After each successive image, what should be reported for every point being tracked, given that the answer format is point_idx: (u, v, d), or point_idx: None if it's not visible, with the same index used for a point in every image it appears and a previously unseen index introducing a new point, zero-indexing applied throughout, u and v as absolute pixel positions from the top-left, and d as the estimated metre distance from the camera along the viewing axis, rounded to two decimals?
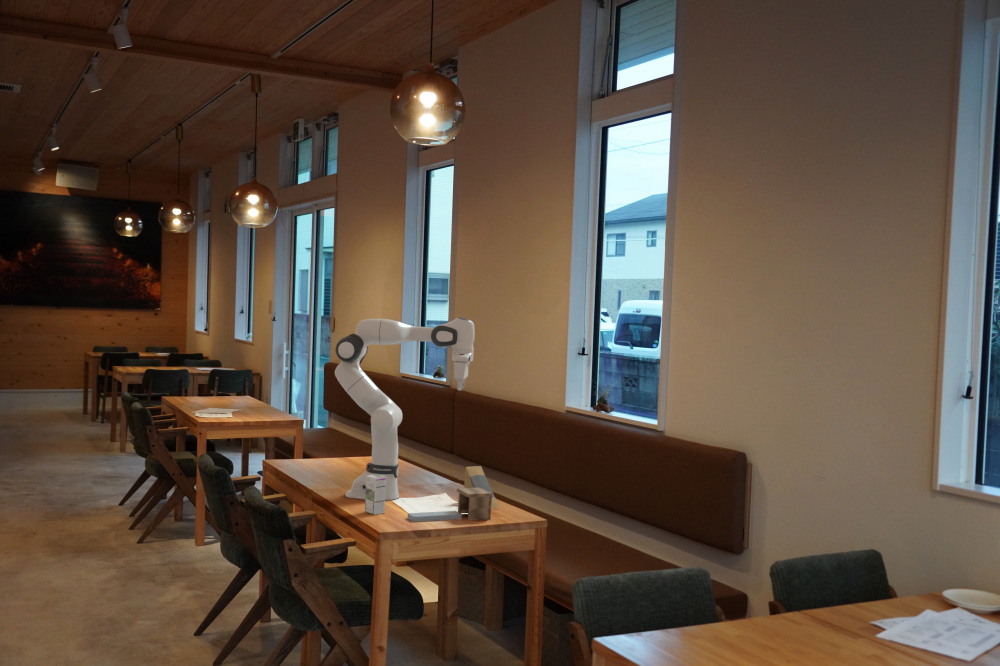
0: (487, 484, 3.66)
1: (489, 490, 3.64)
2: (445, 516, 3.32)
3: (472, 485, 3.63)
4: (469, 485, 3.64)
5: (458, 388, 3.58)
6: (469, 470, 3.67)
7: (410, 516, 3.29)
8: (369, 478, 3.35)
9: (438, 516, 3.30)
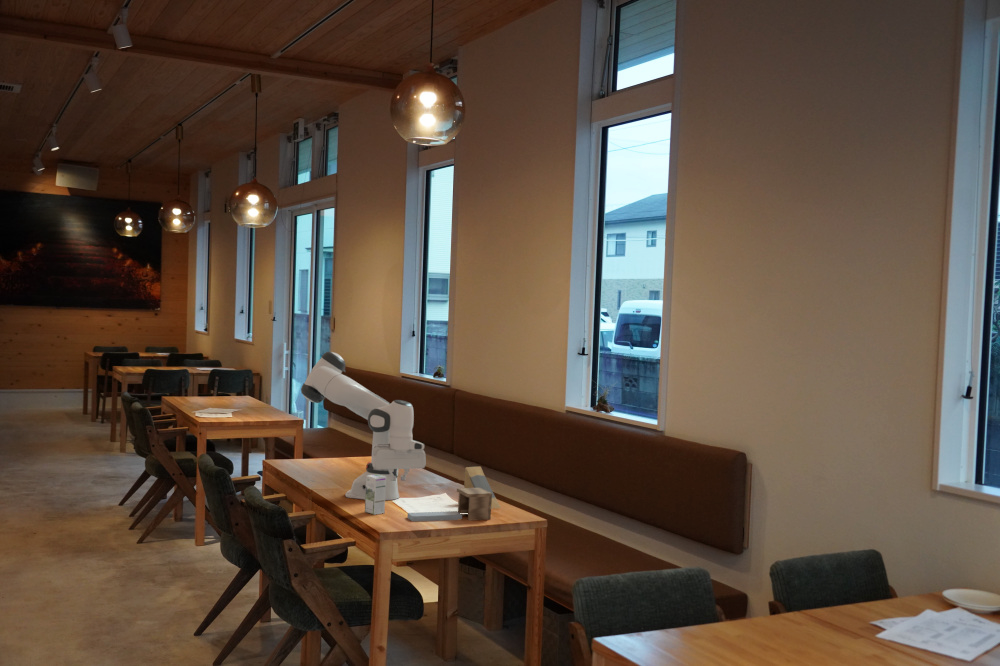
0: (487, 484, 3.65)
1: (489, 490, 3.63)
2: (445, 516, 3.32)
3: (473, 486, 3.62)
4: (469, 485, 3.63)
5: None
6: (469, 470, 3.65)
7: (409, 516, 3.29)
8: (369, 478, 3.35)
9: (438, 516, 3.30)
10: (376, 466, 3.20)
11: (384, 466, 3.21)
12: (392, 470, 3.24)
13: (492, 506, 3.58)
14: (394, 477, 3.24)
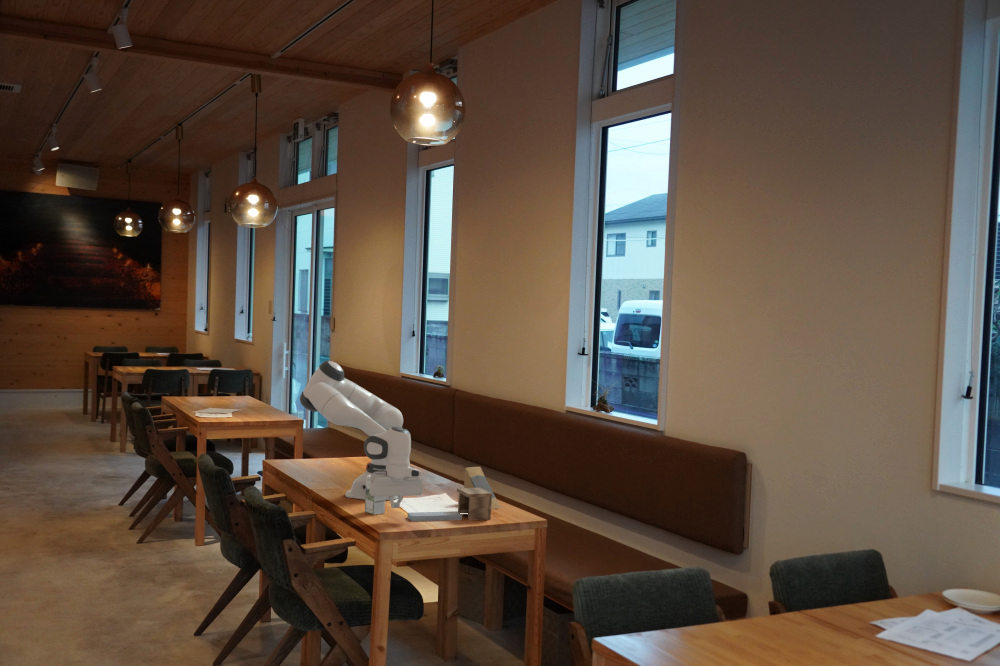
0: (487, 484, 3.65)
1: (490, 491, 3.63)
2: (445, 516, 3.31)
3: (473, 486, 3.61)
4: (469, 486, 3.63)
5: None
6: (469, 471, 3.65)
7: (409, 515, 3.29)
8: (369, 478, 3.35)
9: (437, 516, 3.30)
10: (373, 493, 3.20)
11: (381, 493, 3.21)
12: (392, 497, 3.24)
13: (492, 506, 3.57)
14: (394, 504, 3.25)
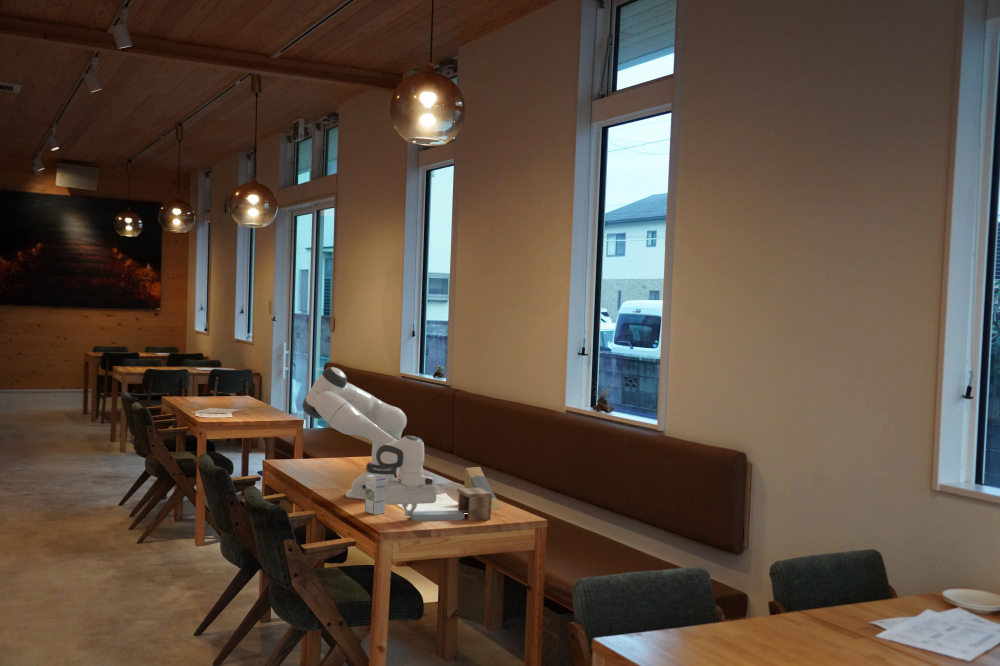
0: (487, 485, 3.65)
1: (490, 491, 3.63)
2: (447, 515, 3.32)
3: (473, 486, 3.60)
4: (470, 486, 3.62)
5: None
6: (469, 471, 3.64)
7: None
8: (369, 478, 3.35)
9: (440, 515, 3.31)
10: (387, 501, 3.23)
11: (395, 501, 3.24)
12: (406, 505, 3.27)
13: (493, 506, 3.57)
14: (408, 512, 3.27)
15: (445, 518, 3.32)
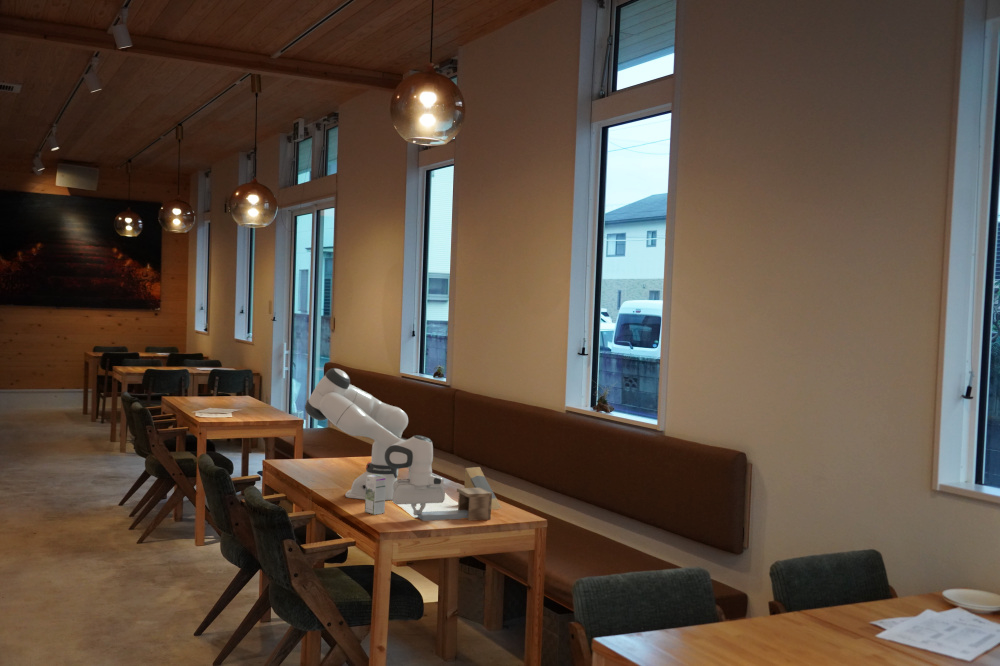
0: (487, 485, 3.64)
1: (490, 491, 3.62)
2: (455, 515, 3.34)
3: (473, 486, 3.60)
4: (470, 486, 3.62)
5: None
6: (469, 471, 3.64)
7: (420, 515, 3.31)
8: (369, 478, 3.35)
9: (448, 515, 3.33)
10: (396, 501, 3.24)
11: (404, 501, 3.25)
12: (415, 505, 3.28)
13: (494, 507, 3.57)
14: (417, 512, 3.29)
15: (453, 518, 3.34)
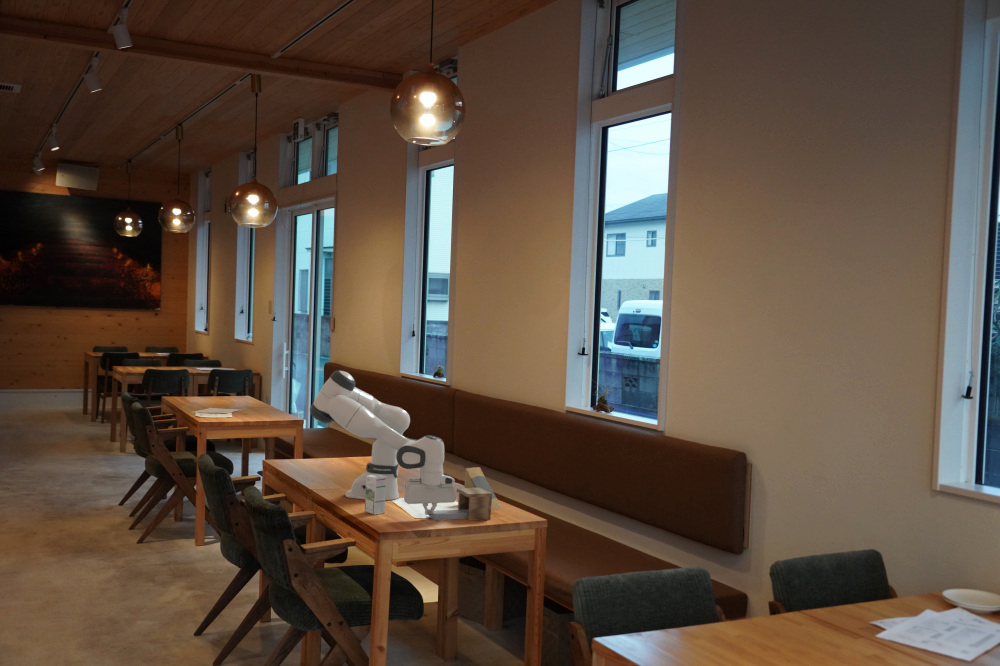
0: (487, 485, 3.64)
1: (490, 491, 3.62)
2: (466, 514, 3.36)
3: (474, 487, 3.60)
4: (470, 486, 3.61)
5: None
6: (469, 471, 3.63)
7: None
8: (369, 478, 3.35)
9: (459, 514, 3.35)
10: (408, 501, 3.26)
11: (415, 500, 3.27)
12: (426, 504, 3.30)
13: (494, 507, 3.56)
14: (428, 511, 3.31)
15: (464, 517, 3.36)
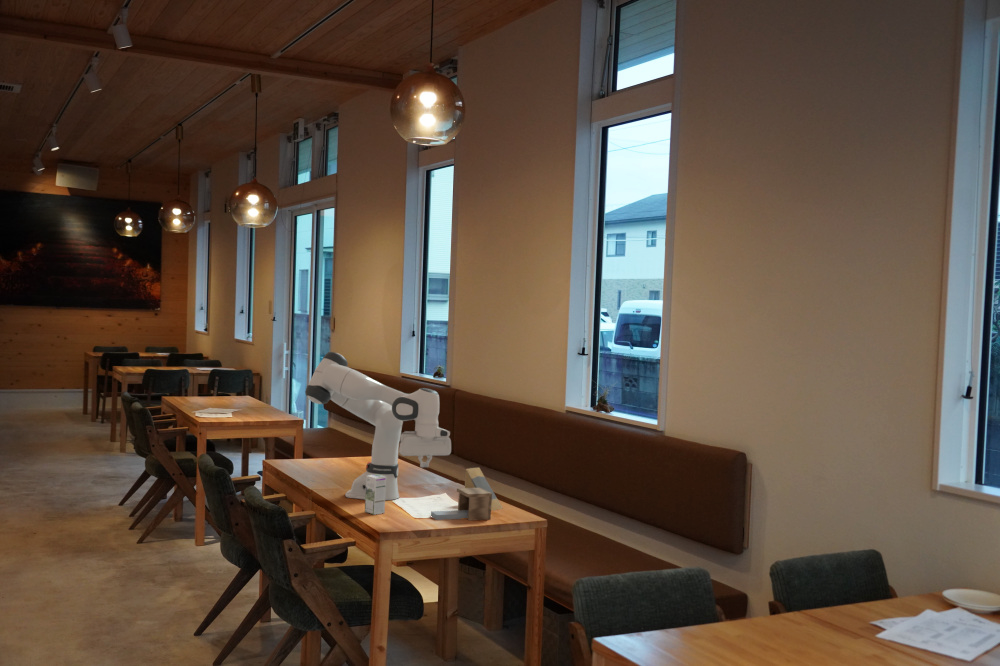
0: (488, 485, 3.63)
1: (491, 491, 3.62)
2: None
3: (474, 487, 3.59)
4: (471, 487, 3.60)
5: None
6: (469, 472, 3.62)
7: (433, 514, 3.34)
8: (369, 478, 3.35)
9: (461, 514, 3.35)
10: (403, 453, 3.25)
11: (411, 452, 3.27)
12: (422, 457, 3.30)
13: (495, 507, 3.56)
14: (424, 464, 3.30)
15: (466, 517, 3.36)
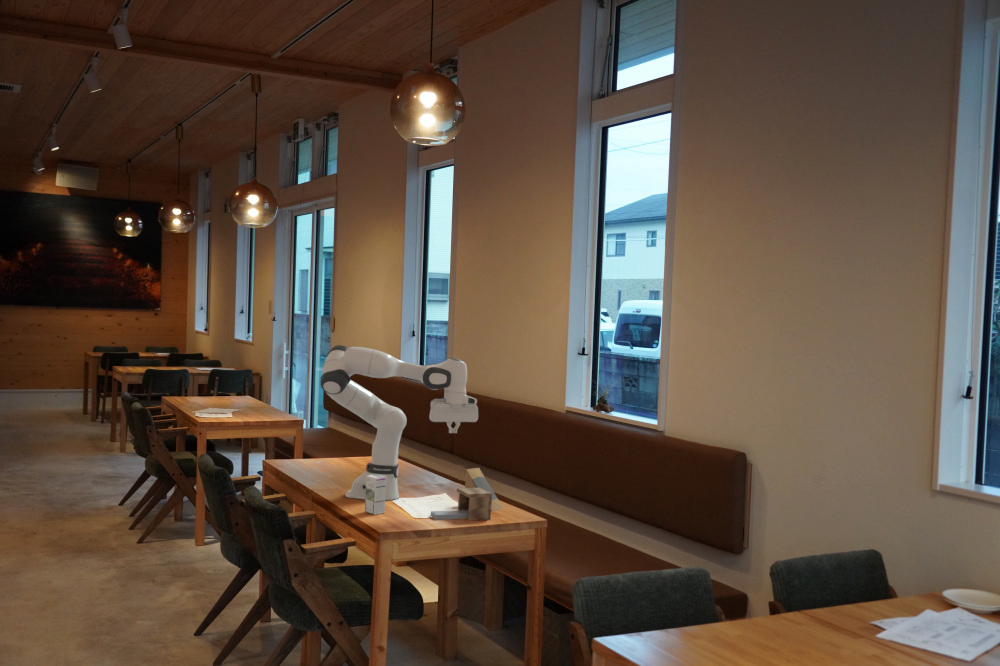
0: (488, 485, 3.63)
1: (491, 492, 3.61)
2: None
3: (475, 487, 3.58)
4: (471, 487, 3.59)
5: None
6: (470, 472, 3.61)
7: (433, 514, 3.34)
8: (369, 478, 3.35)
9: (460, 515, 3.35)
10: (433, 419, 3.44)
11: (440, 418, 3.45)
12: (450, 423, 3.48)
13: (496, 507, 3.55)
14: (452, 429, 3.48)
15: (466, 517, 3.36)
